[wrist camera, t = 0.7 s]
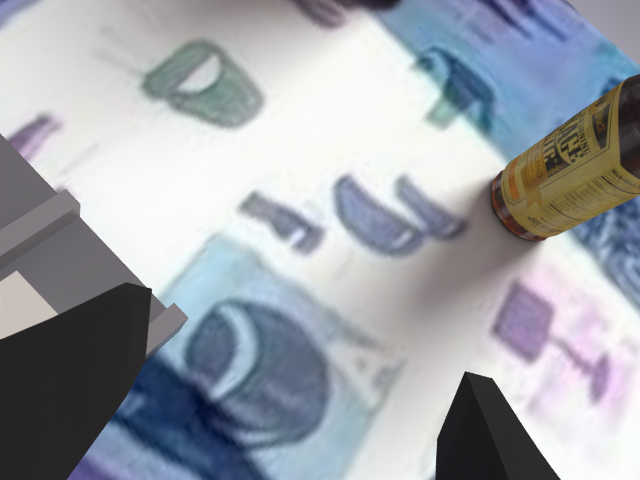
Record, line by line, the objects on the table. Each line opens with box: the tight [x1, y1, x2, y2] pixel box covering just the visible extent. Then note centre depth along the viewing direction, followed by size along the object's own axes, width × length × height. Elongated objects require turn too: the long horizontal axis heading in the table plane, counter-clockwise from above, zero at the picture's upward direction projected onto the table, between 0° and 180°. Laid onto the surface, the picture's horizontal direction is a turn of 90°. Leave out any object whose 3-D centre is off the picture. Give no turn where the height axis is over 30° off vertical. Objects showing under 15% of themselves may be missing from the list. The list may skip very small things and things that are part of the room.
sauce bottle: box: [492, 74, 640, 241], centre depth 34 cm, size 7×6×20 cm
